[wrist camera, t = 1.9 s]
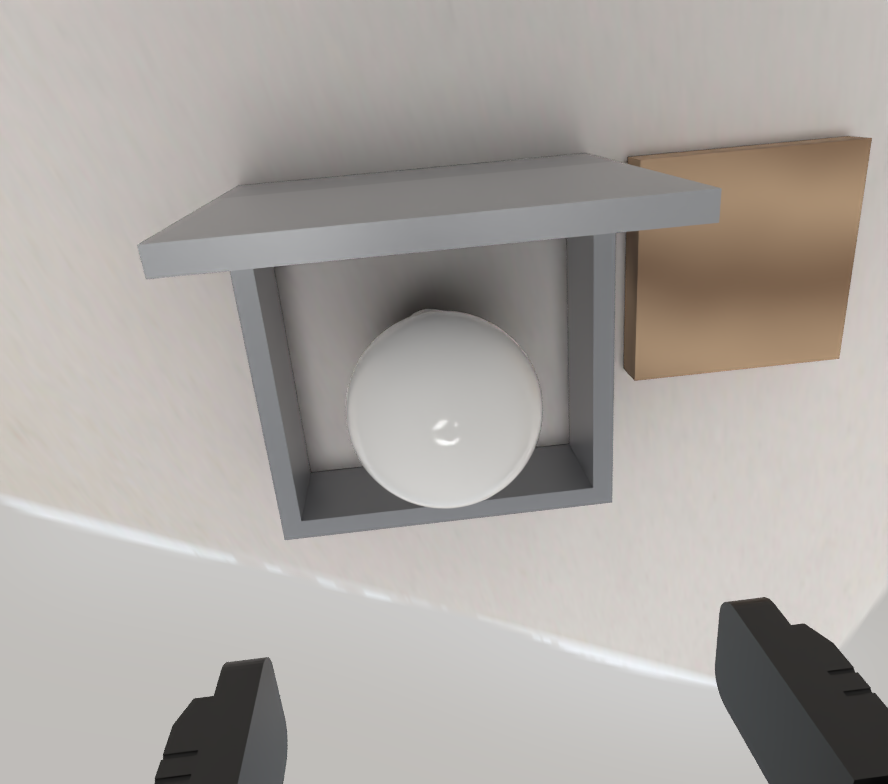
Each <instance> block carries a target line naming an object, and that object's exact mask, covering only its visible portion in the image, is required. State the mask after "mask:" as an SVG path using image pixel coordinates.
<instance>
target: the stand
mask: <svg viewBox="0 0 888 784" xmlns="http://www.w3.org/2000/svg"><path fill="white" fill-rule="evenodd" d="M871 141H872V138H863V137H850V136H846V137H835V138H825V139H814V140H803V141H793V142H782V143H772V144H761V145H750V146H740V147H729V148H719V149H708V150H697V151H687V152H676V153H665V154H655V155H644V156H634V157H628V164H630V165H634V166H637V167H641V168H645V169H649V170H653V171H657V172H661V173H664V174H668V175H672V176H676V177H680V178H684V179H688V180H691V181H695V182H699V183H703V184H707V185H711V186H715V187H718V188H722V191H721V205H720V219H719V223H711V224H701V225H691V226H681V227H671V228H660V229H650V230H640V231H630V232H626V273H625V323H624V369H625V370H626V372H627V373H628V374H629V375H630V376H631V377H632V378H633V379H634V380H635V381H637V380H646V379H655V378H664V377H674V376H683V375H692V374H701V373H711V372H720V371H729V370H738V369H748V368H757V367H766V366H775V365H785V364H794V363H803V362H812V361H822V360H831V359H839V356H840V349H841V343H842V336H843V329H844V322H845V316H846V309H847V302H848V295H849V289H850V282H851V275H852V268H853V262H854V255H855V248H856V242H857V235H858V228H859V221H860V215H861V208H862V201H863V194H864V188H865V181H866V174H867V167H868V161H869V154H870V147H871Z"/></svg>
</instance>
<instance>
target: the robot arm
mask: <svg viewBox="0 0 888 784" xmlns="http://www.w3.org/2000/svg"><path fill="white" fill-rule="evenodd" d="M715 676H716V682H717V686H718V690H719V693H720V696H721V699H722V701H723V703H724V705H725V707H726V709H727V711H728V713H729V714H730V716H731V718H732V720H733V721H734V723H735V725H736V726H737V728H738V730H739V732H740V734H741V735H742V737H743V739H744V741H745V743H746V744H747V746H748V748H749V749H750V751H751V753H752V755H753V756H754V758H755V760H756V762H757V764H758V765H759V767H760V769H761V771H762V772H763V774H764V776H765V778H766V779H767V781H768V783H769V784H888V708H887V707H886V706H885V704H884V703H883V702H882V701H881V700H880V698H879V697H878V696H877V695H876V694H875V693H872V692H871V689H870V686H869V685H868V684H867V683H866V682H865V681H864V679H863V678H862V677H861V676H860V675H859V673H855V671H854V668H853V666H852V665H851V664H850V662H849V661H848V660H847V659H846V658H845V657H844V655H843V654H842V653H841V652H840V651H839V649H838V648H837V647H836V646H835V645H834V643H832V642H831V641H829V640H828V639H826V638H825V637H823V636H822V635H820V634H819V633H818V632H816V631H815V630H813V629H812V628H810V627H809V626H807V625H806V624H796V625H790V623H789V622H788V621H787V619H786V618H785V617H784V616H783V614H782V613H781V612H780V610H779V609H778V608H777V607H776V605H775V604H774V603H773V602H772V601H771V600H770V599H768V598H765V597H763V598H755V599H747V600H738V601H730V602H724V603H723V604H722V605H721V608H720V613H719V625H718V637H717V649H716V661H715ZM286 760H287V729H286V721H285V716H284V712H283V708H282V704H281V699H280V695H279V691H278V686H277V682H276V678H275V673H274V669H273V665H272V662H271V660H270V658H269V657H268V658H267V657H266V658H258V659H250V660H242V661H234V662H226V663H225V664H224V665H223V667H222V670H221V673H220V676H219V680H218V683H217V687H216V690H215V694H214V696H211V697H203V698H195V699H193V700H192V702H191V703H190V704H189V706H188V707H187V708H186V709H185V711H184V712H183V713H182V714H181V716H180V717H179V718H178V719H177V721H176V722H175V723H174V725H173V726H172V730H171V732H170V735H169V738H168V741H167V744H166V747H165V750H164V753H163V760H161V762H160V765H159V768H158V771H157V774H156V776H155V784H283V781H284V773H285V767H286Z"/></svg>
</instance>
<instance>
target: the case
mask: <svg viewBox="0 0 888 784" xmlns="http://www.w3.org/2000/svg"><path fill="white" fill-rule="evenodd" d="M721 191H722V188H718V187H715V186H711V185H707V184H703V183H699V182H695V181H691V180H688V179H684V178H680V177H676V176H672V175H668V174H664V173H661V172H657V171H653V170H649V169H645V168H641V167H637V166H634V165H630V164H626V163H622V162H618V161H614V160H610V159H607V158H603V157H599V156H595V155H591V154H587V153H581V154H570V155H559V156H549V157H538V158H527V159H517V160H506V161H495V162H485V163H474V164H463V165H453V166H442V167H431V168H421V169H410V170H399V171H389V172H378V173H367V174H357V175H346V176H335V177H325V178H314V179H303V180H293V181H282V182H271V183H261V184H250V185H239V186H237V187H235V188H233V189H231V190H230V191H228V192H226V193H225V194H223V195H221V196H219V197H218V198H216V199H214V200H213V201H211V202H209V203H208V204H206V205H204V206H202V207H201V208H199V209H197V210H196V211H194V212H192V213H191V214H189V215H187V216H185V217H184V218H182V219H180V220H179V221H177V222H175V223H174V224H172V225H170V226H168V227H167V228H165V229H163V230H162V231H160V232H158V233H156V234H155V235H153V236H151V237H150V238H148V239H146V240H145V241H143V242H141V243H139V244H138V245H137V246H138V250H139V254H140V258H141V262H142V266H143V270H144V274H145V278H146V279H154V278H164V277H175V276H185V275H195V274H205V273H215V272H225V271H230V274H231V279H232V284H233V289H234V294H235V299H236V304H237V309H238V313H239V318H240V323H241V328H242V333H243V338H244V343H245V348H246V353H247V357H248V362H249V367H250V372H251V377H252V382H253V387H254V392H255V397H256V401H257V406H258V411H259V416H260V421H261V426H262V431H263V436H264V440H265V445H266V450H267V455H268V460H269V465H270V470H271V475H272V480H273V484H274V489H275V494H276V499H277V504H278V509H279V514H280V519H281V523H282V528H283V533H284V538H285V540H291V539H299V538H308V537H317V536H325V535H334V534H343V533H351V532H360V531H368V530H377V529H386V528H394V527H403V526H412V525H420V524H429V523H438V522H446V521H455V520H464V519H472V518H481V517H490V516H498V515H507V514H516V513H524V512H533V511H542V510H550V509H559V508H568V507H576V506H585V505H594V504H602V503H611V502H612V472H613V401H614V330H615V260H616V233H620V232H630V231H640V230H650V229H660V228H671V227H681V226H691V225H701V224H711V223H719V219H720V205H721ZM559 238H567V304H568V380H569V444H565V445H556V446H547V447H538V448H535V450H534V452H533V454H532V456H531V458H530V459H529V461H528V463H527V464H526V466H525V467H524V469H523V470H522V471H521V472H520V474H519V475H518V476H517V477H516V478H515V479H514V480H513V481H512V482H511V483H510V484H509V485H508V486H506V487H505V488H504V489H502V490H501V491H500V492H498V493H497V494H495V495H493V496H491V497H490V498H488V499H485V500H483V501H481V502H478V503H475V504H472V505H469V506H464V507H459V508H448V509H442V508H430V507H424V506H420V505H416V504H413V503H410V502H408V501H405V500H403V499H401V498H399V497H397V496H395V495H393V494H392V493H390V492H389V491H387V490H386V489H384V488H383V487H382V486H381V485H380V484H378V483H377V482H376V481H375V480H374V479H373V478H372V477H371V476H370V475H369V473H368V472H367V471H366V470H365V468H364V467H359V468H350V469H341V470H332V471H323V472H314V473H311V471H310V466H309V460H308V455H307V449H306V444H305V438H304V432H303V427H302V421H301V416H300V410H299V405H298V399H297V393H296V388H295V382H294V377H293V371H292V365H291V360H290V354H289V349H288V343H287V338H286V332H285V326H284V321H283V315H282V310H281V304H280V299H279V293H278V287H277V282H276V276H275V271H274V267H276V266H286V265H296V264H306V263H316V262H326V261H336V260H347V259H357V258H367V257H377V256H387V255H397V254H407V253H417V252H428V251H438V250H448V249H458V248H468V247H478V246H488V245H498V244H509V243H519V242H529V241H539V240H549V239H559Z"/></svg>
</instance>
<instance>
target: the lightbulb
mask: <svg viewBox="0 0 888 784" xmlns="http://www.w3.org/2000/svg"><path fill="white" fill-rule="evenodd" d="M345 414H346V425H347V430H348V435H349V438H350V441H351V444H352V447H353V449H354V451H355V454H356V455H357V457H358V459H359V461H360V462H361V464H362V465H363V467H364V468H365V470H366V471H367V472H368V473H369V475H370V476H371V477H372V478H373V479H374V480H375V481H376V482H377V483H378V484H380V485H381V486H382V487H383V488H384V489H386V490H387V491H389V492H390V493H392V494H393V495H395V496H397V497H399V498H401V499H403V500H405V501H408V502H410V503H413V504H416V505H420V506H424V507H430V508H442V509H448V508H459V507H464V506H469V505H472V504H475V503H478V502H481V501H483V500H485V499H488V498H490V497H491V496H493V495H495V494H497V493H498V492H500V491H501V490H502V489H504V488H505V487H506V486H508V485H509V484H510V483H511V482H512V481H513V480H514V479H515V478H516V477H517V476H518V475H519V474H520V472H521V471H522V470H523V469H524V467H525V466H526V464H527V463H528V461H529V459H530V458H531V456H532V454H533V452H534V450H535V447H536V445H537V442H538V439H539V435H540V431H541V426H542V418H543V401H542V393H541V388H540V384H539V380H538V377H537V374H536V372H535V370H534V367H533V365H532V363H531V362H530V360H529V358H528V357H527V355H526V354H525V352H524V351H523V349H522V348H521V347H520V346H519V345H518V343H517V342H516V341H515V340H514V339H513V338H512V337H511V336H509V335H508V334H507V333H506V332H505V331H503V330H502V329H501V328H499V327H498V326H496V325H494V324H493V323H491V322H489V321H487V320H485V319H482V318H480V317H477V316H474V315H471V314H467V313H463V312H456V311H441V310H437V309H424V310H420V311H418V312H416V313H414V314H412V315H411V316H410V317H408V318H406V319H403V320H401V321H399V322H397V323H396V324H394V325H392V326H391V327H389V328H388V329H386V330H385V331H384V332H382V333H381V334H380V335H379V336H378V337H377V338H375V339H374V340H373V341H372V343H371V344H370V345H369V346H368V347H367V348H366V350H365V351H364V352H363V354H362V355H361V357H360V359H359V360H358V362H357V364H356V366H355V368H354V370H353V373H352V375H351V378H350V381H349V385H348V389H347V395H346V405H345Z"/></svg>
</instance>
